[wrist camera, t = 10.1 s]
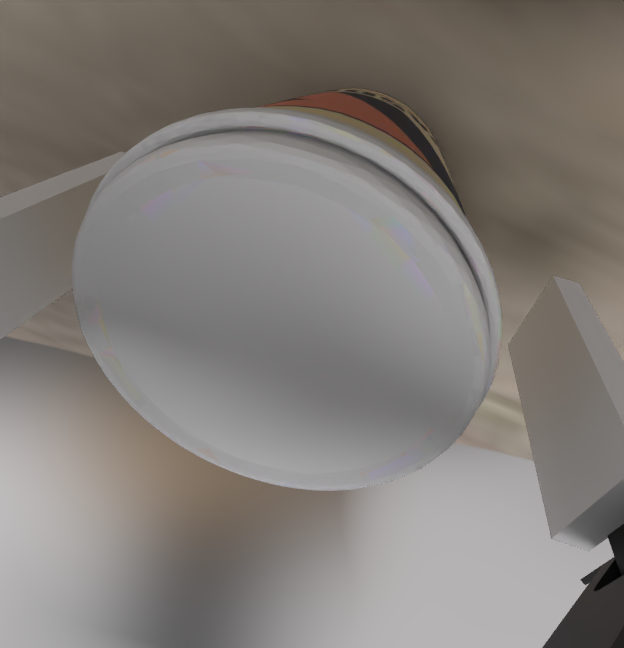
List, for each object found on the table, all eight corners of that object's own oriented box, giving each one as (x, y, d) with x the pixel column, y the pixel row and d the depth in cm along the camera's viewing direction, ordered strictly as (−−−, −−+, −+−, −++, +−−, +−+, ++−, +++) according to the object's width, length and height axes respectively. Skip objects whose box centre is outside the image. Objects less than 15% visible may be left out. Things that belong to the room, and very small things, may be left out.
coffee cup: (507, 97, 15) (642, 222, 5) (417, 303, 21) (404, 538, 11) (264, 33, 15) (-1, 44, 6) (241, 250, 21) (88, 431, 12)
